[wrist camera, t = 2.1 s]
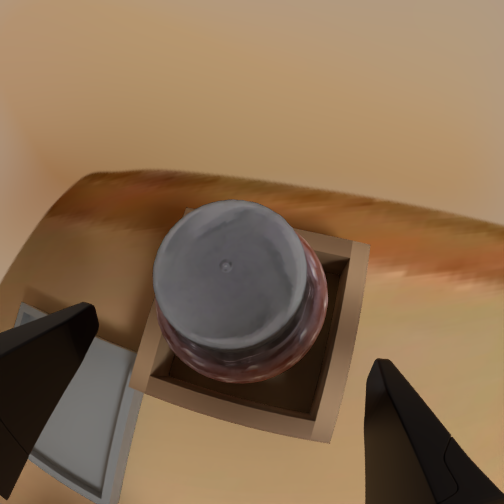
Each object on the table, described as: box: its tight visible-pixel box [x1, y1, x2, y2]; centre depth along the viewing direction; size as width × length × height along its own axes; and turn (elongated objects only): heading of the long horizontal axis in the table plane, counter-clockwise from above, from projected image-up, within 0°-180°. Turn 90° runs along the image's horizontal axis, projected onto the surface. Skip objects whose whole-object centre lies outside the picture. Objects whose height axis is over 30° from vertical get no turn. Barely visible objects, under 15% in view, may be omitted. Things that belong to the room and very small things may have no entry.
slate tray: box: [14, 302, 144, 504], centre depth 16 cm, size 11×11×2 cm
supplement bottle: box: [153, 200, 328, 383], centre depth 13 cm, size 6×6×11 cm
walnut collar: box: [128, 207, 370, 444], centre depth 17 cm, size 10×10×3 cm
